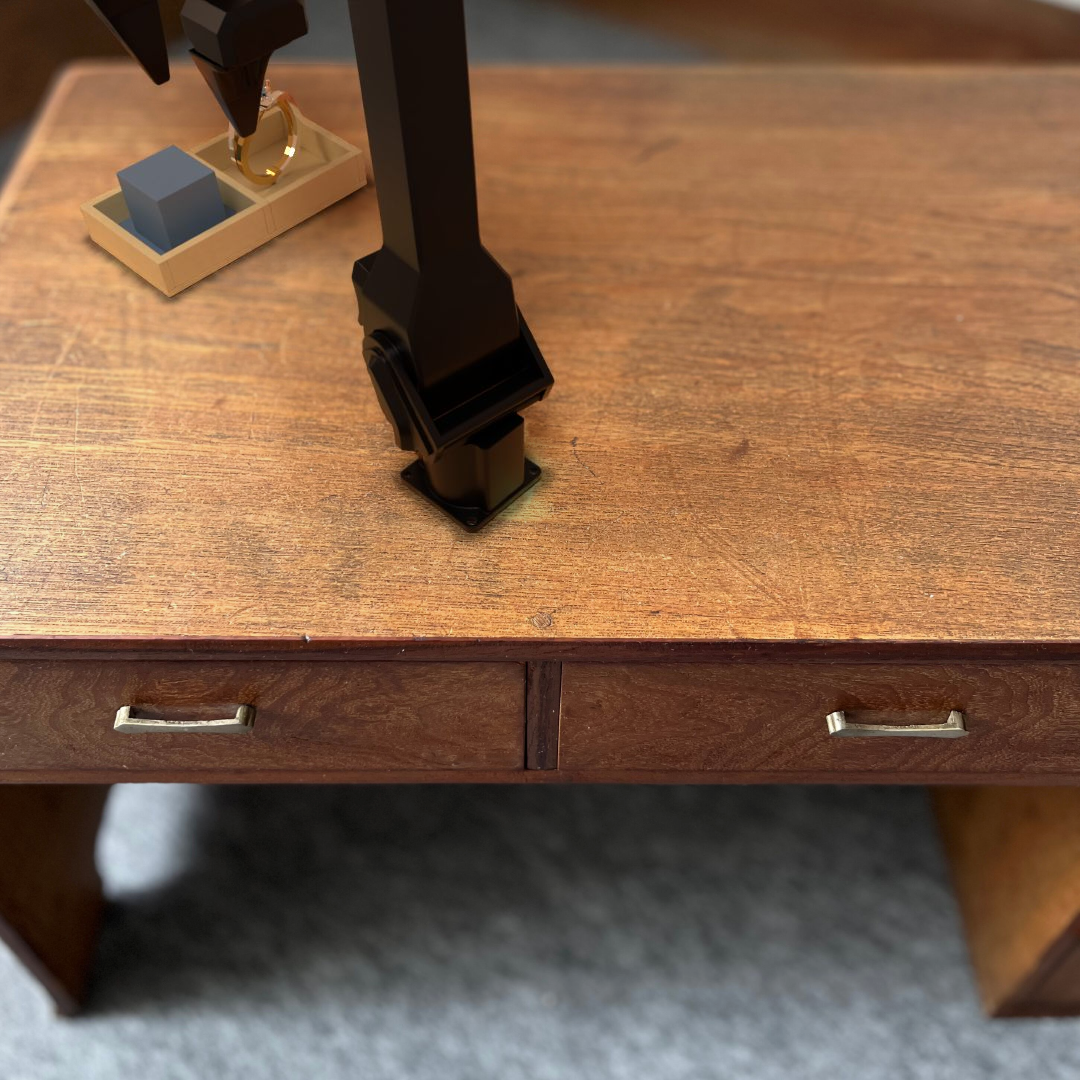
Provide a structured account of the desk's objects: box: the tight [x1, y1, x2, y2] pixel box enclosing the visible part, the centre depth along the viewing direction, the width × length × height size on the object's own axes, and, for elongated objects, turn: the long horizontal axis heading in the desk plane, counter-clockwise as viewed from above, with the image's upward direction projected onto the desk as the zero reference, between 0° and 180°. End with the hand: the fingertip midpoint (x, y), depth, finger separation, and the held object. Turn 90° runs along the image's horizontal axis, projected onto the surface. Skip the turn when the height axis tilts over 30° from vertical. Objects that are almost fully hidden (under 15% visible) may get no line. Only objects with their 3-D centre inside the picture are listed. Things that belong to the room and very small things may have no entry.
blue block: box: [115, 144, 227, 253], centre depth 79 cm, size 5×5×5 cm
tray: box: [78, 105, 368, 298], centre depth 82 cm, size 19×10×3 cm, turn 138°
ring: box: [228, 79, 303, 185], centre depth 82 cm, size 7×3×8 cm, turn 143°
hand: (204, 107), depth 71 cm, fingers open, 9 cm apart
